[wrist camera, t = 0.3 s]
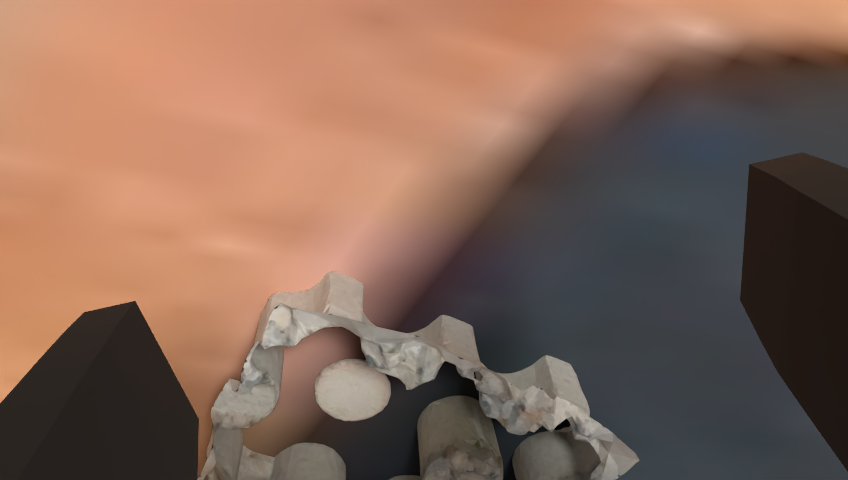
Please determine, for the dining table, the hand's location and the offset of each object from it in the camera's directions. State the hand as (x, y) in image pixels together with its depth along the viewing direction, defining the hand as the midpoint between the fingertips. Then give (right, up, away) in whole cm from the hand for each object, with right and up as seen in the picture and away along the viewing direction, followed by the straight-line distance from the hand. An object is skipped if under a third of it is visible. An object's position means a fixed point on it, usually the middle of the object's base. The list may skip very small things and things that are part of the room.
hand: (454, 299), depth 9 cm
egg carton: (-1, -4, +14) cm, 15 cm away
